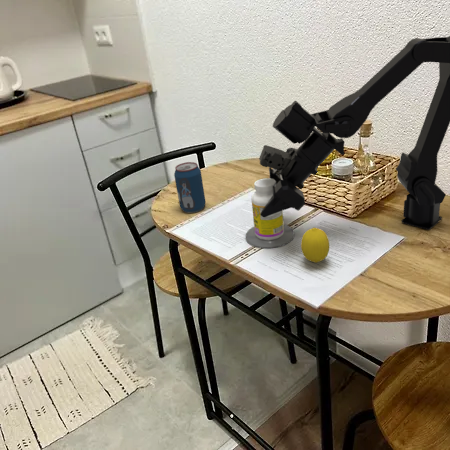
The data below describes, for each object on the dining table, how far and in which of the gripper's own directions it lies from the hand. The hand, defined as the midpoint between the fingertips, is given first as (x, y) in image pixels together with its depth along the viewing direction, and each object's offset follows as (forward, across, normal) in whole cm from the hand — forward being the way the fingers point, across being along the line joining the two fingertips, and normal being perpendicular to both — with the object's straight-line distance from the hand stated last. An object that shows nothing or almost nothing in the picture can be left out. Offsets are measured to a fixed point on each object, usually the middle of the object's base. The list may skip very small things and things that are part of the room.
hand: (261, 208), depth 104 cm
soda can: (+18, -19, -7) cm, 27 cm away
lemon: (-2, +13, +12) cm, 18 cm away
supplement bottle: (+4, 0, +6) cm, 7 cm away
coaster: (+4, 0, +6) cm, 7 cm away
